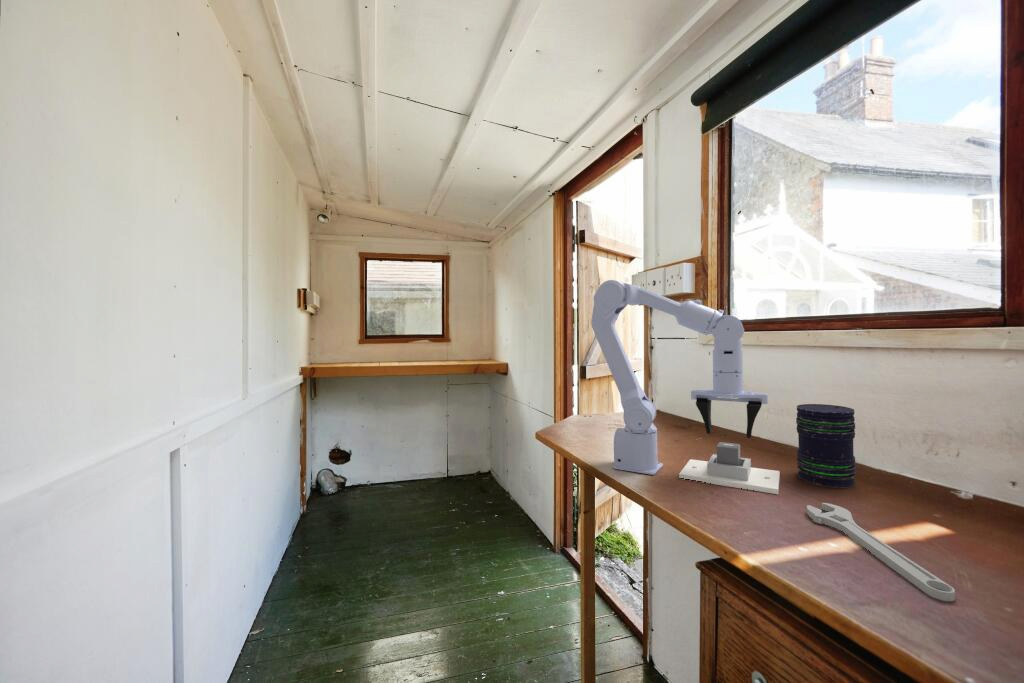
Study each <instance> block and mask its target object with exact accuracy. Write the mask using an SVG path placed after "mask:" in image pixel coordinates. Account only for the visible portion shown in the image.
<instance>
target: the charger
mask: <svg viewBox="0 0 1024 683" xmlns="http://www.w3.org/2000/svg"><path fill="white" fill-rule="evenodd" d="M716 455H717V463H720V464H727V465H735V466H740V458H741V444H739V443H731V442H722V441H719V442H718V443H717V445H716Z"/></svg>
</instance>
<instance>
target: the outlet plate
mask: <svg viewBox="0 0 1024 683" xmlns="http://www.w3.org/2000/svg"><path fill="white" fill-rule="evenodd" d="M780 476H781V475H780V470H772V469H767V468H759V467H752V462H751V458H748V457H745V458H744V457H740V466H735V465H727V464H720V463H717V454H716V453H715V454H714V453H713V454H712V455H711V456H710V458H709V460H708V461H705V460H701V459H700V460H699V459H689V460H688V461H687V463H686V464H685V466H684V467H682V469H681V471H680V472H679V474H678V478H684V479H683V480H685V479H690V480H689V481H691V480H696V481H695V482H697V481H702V482H701V483H704V482H706V483H705V484H710V483H711V484H710V485H717V486H723V487H730V488H737V489H741V488H742V489H743V490H747V489H748V491H753V490H754V491H756V492H760V493H766V494H772V495H779V491H780V490H779V488H780Z"/></svg>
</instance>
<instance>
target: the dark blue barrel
mask: <svg viewBox="0 0 1024 683" xmlns="http://www.w3.org/2000/svg"><path fill="white" fill-rule="evenodd" d="M796 411H797V412H796V420H795V421H796V423H795V424H796V428H795V429H796V433H797V434H798V449H797V453H796V465H797V470H798V471H797V477H798V479H800V480H801V479H802V480H801V481H803V480H804V482H806V483H808V482H809V483H808V484H811V483H813V484H812V485H815V484H816V486H819V485H820V487H825V488H833V489H835V488H836V489H848V488H853V487H855V486H856V480H855V477H856V474H855V473H857V472H856V471H857V470H856V469H857V466H856V457H855V456H854V439H855V437H856V422H855V416H854V415H855V409H854V408H852V407H847V406H843V405H835V404H822V403H821V404H820V403H817V404H816V403H805V404H798V405H796Z"/></svg>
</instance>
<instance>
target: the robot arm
mask: <svg viewBox="0 0 1024 683" xmlns="http://www.w3.org/2000/svg"><path fill="white" fill-rule="evenodd" d="M702 303H703V302H702V301H701V300H698V299H696V300H695V301H694V300H687V301H685V302H682V303H681V302H678V301H676V300H674V299H671V298H668V297H665V296H664V295H661V294H658V293H656V292H654V291H652V290H650V289H646V288H645V287H642V286H639V285H634V284H630V283H626V282H625V283H624V282H623V283H621V282H620V281H617V280H614V279H609V280H604V282H602V283H601V284H600V285H599V287H598V288H597V290H596V292H595V293H594V295H593V306H592V307H593V308H592V314H591V321H590V325H591V328H592V331H593V333H594V336H595V337H596V340H597V342H598V344H599V347H600V349H601V352H602V355H603V356H604V359H605V361H606V363H607V366H608V369H609V371H610V373H611V376H612V379H613V381H614V382H615V385H616V388H617V390H618V392H619V395H620V403H621V406H622V409H623V423H624V424H625V426H624V427H618V428H616V430H615V432H614V435H613V466H612V468H613V469H615V470H621V471H627V472H632V473H640V474H645V475H650V476H651V475H652V476H654V475H655V474H657V472H659V471H660V469H662V467H663V465H664V463H662V462H658V428H657V427H656V425H655V424H654V423H653V421H654V420H655V419H656V417H657V409H656V406H655V404H654V403H653V402H652V401H651V400H650V399H649V398H648V397H647V395H646V393H645V391H644V389H643V388H642V387H641V385H640V383H639V380H638V378H637V376H636V374H635V372H634V369H633V366H632V365H631V364H632V363H631V362H630V360H629V357H628V354H627V353H626V351H625V348H624V346H623V343H622V341H621V338H620V336H619V333H618V331H617V329H616V327H615V323H616V322H617V319H618V317H619V315H620V313H622V311H623V310H624V309H626V307H627V306H628V305H630V306H637V305H638V306H640V305H643V306H647V307H649V308H652V309H655V310H657V311H660V312H663V313H666V314H669V315H672V316H674V318H675V320H676V321H677V323H678V325H680V326H681V327H685V328H687V329H689V330H691V331H695V332H697V333H700V334H702V335H705V336H708V335H712V337H713V338H714V339H713V350H712V389H691V390H690V399H691V400H696V401H695V406H696V408H697V410H698V411H699V413H700V415H701V418H702V419H703V424H704V426H705V432H706V434H707V435H708V434H709V435H711V433H712V417H711V416H712V401H719V402H721V401H722V402H736V403H737V402H739V403H747V404H746V416H747V417H746V419H747V420H746V438H747V439H751V438H752V432H753V428H754V423H755V420H756V418H757V416H758V414H759V412H760V410H761V408H762V405H768V403H769V393H762V392H751V391H744V364H743V363H744V360H743V359H744V356H743V355H744V353H743V351H744V350H743V349H742V347H743V341H742V337H743V336H744V334H745V328H744V325H743V323H742V321H741V320H740V319H739V318H738V317H736V316H734V315H730V314H724V312H725V310H723V309H719V308H718V310H716V309H714V308H711V307H709V306H706V305H703V304H702Z"/></svg>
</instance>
